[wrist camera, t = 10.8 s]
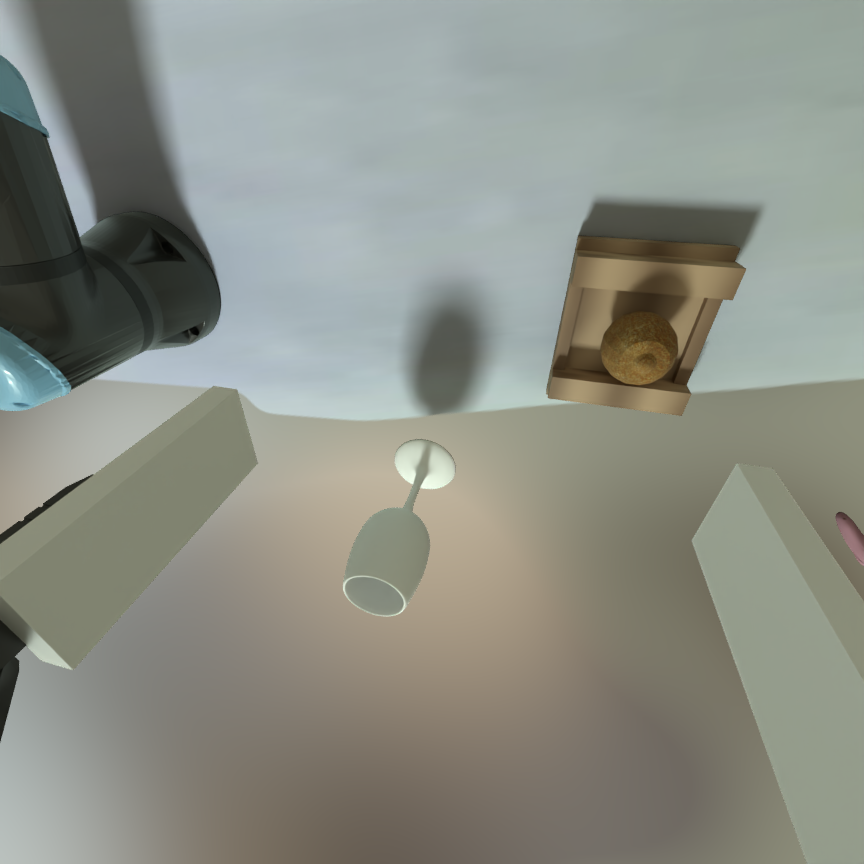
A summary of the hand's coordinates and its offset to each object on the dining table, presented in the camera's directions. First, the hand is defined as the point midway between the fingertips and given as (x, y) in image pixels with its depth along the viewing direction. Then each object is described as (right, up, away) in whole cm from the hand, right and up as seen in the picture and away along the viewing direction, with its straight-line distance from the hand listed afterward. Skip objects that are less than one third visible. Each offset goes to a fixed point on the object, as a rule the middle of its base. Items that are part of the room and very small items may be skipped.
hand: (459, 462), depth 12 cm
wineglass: (-2, -4, +46) cm, 47 cm away
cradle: (+19, +11, +30) cm, 37 cm away
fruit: (+19, +11, +29) cm, 36 cm away
